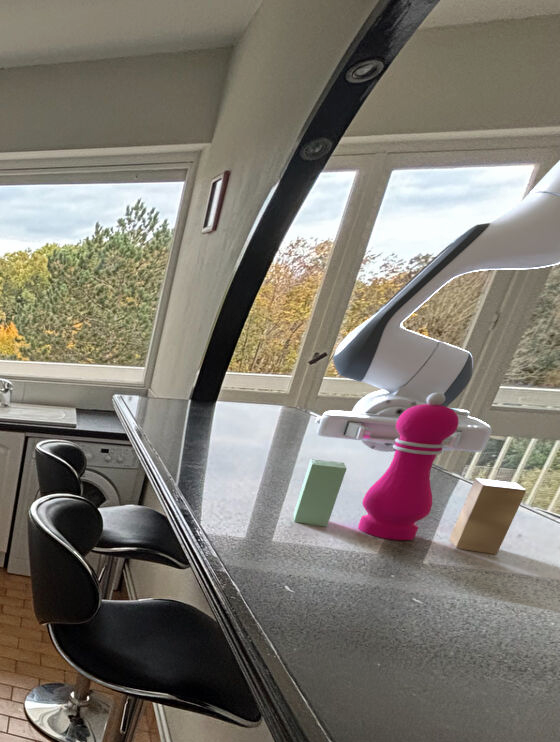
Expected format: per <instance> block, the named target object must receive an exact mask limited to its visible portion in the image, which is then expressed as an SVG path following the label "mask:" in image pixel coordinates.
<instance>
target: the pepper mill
mask: <svg viewBox="0 0 560 742" xmlns="http://www.w3.org/2000/svg"><path fill="white" fill-rule="evenodd" d="M444 401H445V395H444V394H442V393H433V394H431V395H429V396H428V397H427V403H428V404H422V405H417V406H413V407H411V408H409V409H407V410H405V411H404V412H403V413H402V414H401V415H400V417H399V418H398V420H397V423H396V429H397V431H398V433H399V434H400V438H397V439H395V441H396V443H395V445H393V448H394V449H396V450H395V451H394V454H393V458H392V461H391V463H390V465H389V466H388V468H387V469H386V471H385V472H384V473H383V475H381V477H379V478H378V479H377V481H376V482H374V483H373V484H372V485H371V486H370V487H369V488H368V490H367V491H366V493H365V494H364V497H363V498H362V507H363V509H364V510H365V512H366V513H367V514H364V515H362V516H361V517H360V519H359V523H358V525H357V528H358V530H359V531H360V532H363V533H364V534H367V535H370V536H374V537H377V538H381V539H387V540H391V541H392V540H393V541H411V540H414V539H415V537H416V535H417V533H418V530H419V526H418V525H417V522H418V521H420V520H422V519H424V518H426V517H428V515H429V514H430V512H431V510H432V506H433V493H432V488H431V479H430V478H431V470H432V466H433V463H434V461H435V459H436V458H437V455H441V454H442V453H443V451H441V450H442V447H444V446H445V444H444V443H442V441H443V440H445V439H446V438H448V437H450V436H451V435H452V434H453V433H454V432H455V431H456V429H457V427H458V421H459V420H458V416H457V414H456V413H455V412H454V411H453V410H452V409H450V408H451V407H448V406H447V407H445V406H442V405H441V404H442V403H443V402H444Z"/></svg>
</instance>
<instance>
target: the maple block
mask: <svg viewBox="0 0 560 742" xmlns="http://www.w3.org/2000/svg"><path fill="white" fill-rule="evenodd" d="M526 493H527V489H526V488H524V487H523V486H521V485H520V484H519V483H517V482H511V481H502V480H494V479H486V478H477V477H475V478H474V480H473V482H472V485H471V487H470V489H469V492H468V494H467V497H466V499H465V500H464V504H463V506H462V508H461V510H460V512H459V515H458V518H457V520H456V522H455V524H454V527H453V529H452V531H451V534H450V537H449V541H450V543H451V544H452V545H453V547H454V548H455V549H460V550H466V551H472V552H478V553H484V554H489V555H495V556H496V555H498V553H499V551H500V548H501V547H502V545H503V543H504V540H505V538H506V536H507V534H508V532H509V529H510V527H511V525H512V522H513V520H514V518H515V516H516V514H517V512H518V510H519V507H520V506H521V504H522V501H523V499H524V497H525V494H526Z"/></svg>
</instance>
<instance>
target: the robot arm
mask: <svg viewBox="0 0 560 742" xmlns="http://www.w3.org/2000/svg"><path fill="white" fill-rule="evenodd" d="M559 264H560V159H559V160H558V161H557V162H556V163H555V164H554V165H553V166H552V167H551V169H549V171H548V172H547V173H546V174H545V175H543V177H541V179H540V180H539V181H538V182H537V183H536V184H535V186H534V187H533V188H532V189H531V190H530V192H528V194H527V195H526V196H525V197H524V198H523V199H522V200H521V201H520V202H519V203H518V204H517V205H516V206H514V207H513V208H512V209H510V210H509V211H508V212H506V213H504V214H503V215H502V216H500V217H498V218H496V219H494V220H493V221H491V222H487V223H480V224H475V225H474V226H472V227H470V228H468V229H467V230H466V231H464V232H463V233H461V234H460V235H458V237H456V238H454V240H453V241H452V242H451V243H449V244H448V245H447V246H446V247H445V248H444V249H442V251H440V252H439V253H438V254H437V255H436V256H435V257H434V258H432V260H431V261H429V262H428V263H427V264H426V265H425V266H424V267H422V269H420V270H419V271H418V272H417V273H416V274H415V275H414V276H413V277H412V278H410V280H409V281H408V282H406V284H405V285H404V286H402V287H401V288H400V289H399V290H398V291H397V292H396V293H395V294H394V295H393V296H391V298H389V299H388V300H387V301H386V302H385V303H384V304H383V305H382V306H381V307H380V308H379V309H378V310H376V312H374V313H373V314H372V315H371V316H370V317H369V318H368V319H367V320H365V321H364V322H362V323H361V324H360V325H358V326H357V327H356V328H355V329H353V330H351V332H349V333H348V334H347V335H346V336H345V337H344V338H343V339H342V340H341V341H340V343H339V344H338V346H337V348H336V349H335V352H334V353H333V355H332V360H333V364H334V367H335V369H336V372H337V374H338V375H339V376H340V377H344V378H347V379H350V380H353V381H355V382H359V383H361V382H362V383H365V384H367V385H370V386H372V387H375V388H377V389H380V390H377V391H373V392H370V393H368V394H366V395H364V396H363V397H362V398H361V399H359V400H358V401H357V402H356V403H355V405H354V406H353V408H352V409H351V411H347V410H345V411H344V410H327V411H325V412H323V413H322V415H321V416H316V417H315V418H314V422H315V424H319V425H318V426H317V427H318V428H317V430H316V435H317V436H320V437H323V438H333V439H343V440H351V441H361V442H362V444H364V446H366V447H368V448H369V449H371V450H373V451H377V452H383V453H384V452H385V453H392V452H394V453H395V450H396V449H394V448H393V445H395V443H396V441H395V439H397V438H400V434H399V433H398V431H397V429H396V423H397V420H398V418H399V417H400V415H401V414H402V413H403V412H404V411H405V410H407V409H409V408H411V407H413V406H417V405H422V404H428V403H427V397H428V396H429V395H431V394H433V393H442V394H444V395H445V401H444V402H443V403H442V404H441V405H442V406H445V407H448V406H450V405H451V404H452V403H453V402H454V401H455V400H456V399H457V398H458V397H459V396H460V395H461V393H463V391H464V390H465V388H466V387H467V386H468V384H469V383H470V381H471V379H472V377H473V373H474V361H473V356H472V354H471V352H470V351H469V350H465V349H462V348H460V347H458V346H455V345H452V344H449V343H447V342H443V341H441V340H437V339H434V338H431V337H428V336H426V335H423V334H420V333H418V332H415V331H413V330H409V329H406V327H404V325H403V322H405V321H406V320H407V319H408V318H409V317H410V316H411V315H412V314H414V312H416V311H417V310H418V309H419V308H420V307H421V306H422V305H424V303H426V302H427V301H428V300H429V299H430V298H432V297H433V295H435V294H436V293H437V292H438V291H439V290H440V289H442V288H443V287H444V286H445V285H446V284H447V283H449V282H451V281H452V280H453V279H456V278H457V277H460V276H462V275H465V274H468V273H472V272H473V273H474V272H479V271H489V270H492V271H493V270H529V269H530V270H531V269H540V268H546V267H547V268H548V267H550V266H555V265H559ZM449 408H450V409H452V410H453V411H454V412H455V413H456V414H457V416H458V420H459V421H458V427H457V429H456V431H455V432H454V433H453V434H452V435H451V436H450V437H448V438H446V439H445V440H443V441H442V443H444V444H445V446H444V447H442V450H441V451H442V452H445V451H447V452H453V451H464V452H469V453H470V452H471V453H481V452H483V451H484V450H485V449H486V447H487V445H488V442H489V441H490V438H491V435H492V432H493V430H492V426H490V425H489V424H487V423H486V422H484V421H483V420H481V419H478V418H476V417H472V416H470V411H468V410H466V409H460V408H452V407H449Z"/></svg>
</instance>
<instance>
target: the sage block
mask: <svg viewBox="0 0 560 742" xmlns="http://www.w3.org/2000/svg"><path fill="white" fill-rule="evenodd" d="M346 472H347V466H346V464H345V462H341V461H332V460H323V459H314V458H310V460H309V463H308V466H307V469H306V472H305V476H304V479H303V482H302V486H301V489H300V492H299V494H298V497H297V500H296V505H295V507H294V510H293V514H292V515H293V516H292V517H293V522H294V523H301V524H306V525H312V526H319V527H325V528H327V527H328V524H329V522H330V519H331V516H332V513H333V510H334V507H335V504H336V501H337V499H338V495H339V493H340V489H341V486H342V484H343V482H344V481H343V480H344V478H345V476H346V475H345V474H346Z"/></svg>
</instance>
